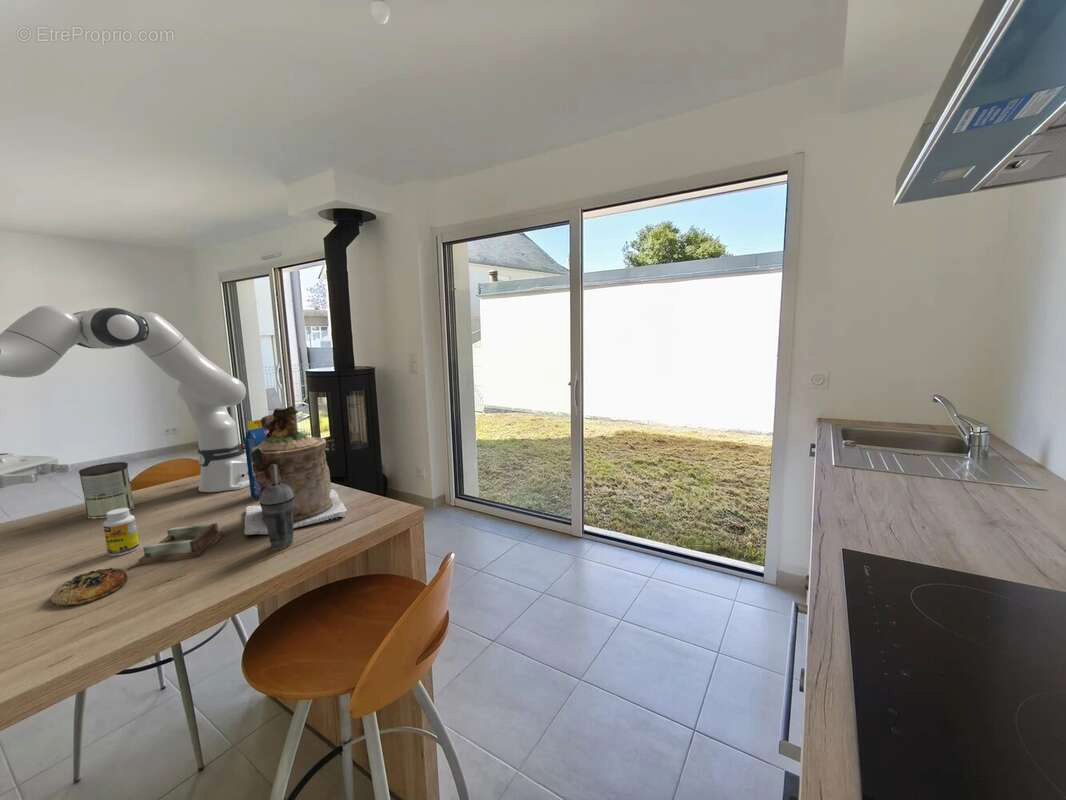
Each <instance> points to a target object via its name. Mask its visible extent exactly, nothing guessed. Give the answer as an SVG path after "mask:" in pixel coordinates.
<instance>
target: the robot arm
mask: <svg viewBox="0 0 1066 800" xmlns="http://www.w3.org/2000/svg"><path fill="white" fill-rule="evenodd" d="M75 345H76V346H80V347H83V348H88V349H103V350H104V349H105V350H107V349H108V350H109V349H115V348H124V347H129V346H131V345H133V346H135V347H137V348H138V349H140V350H141V351H142V353H143V354H144V355H146V356H147V357H148V358H149V359H150V360H151V361H152V362H153V363H154V364H155V365H156V366H157V367H159V369H161V370H162V371H163V373H165V374H166V375H167V376H169V377H170V378H172V379H174V380H176V381H178V382H179V384H178V387H177V394H178V397H179V398H180V399H181V400H182V401H183V402H184V403H185V405H186V407H187V409H188V412H189V413H190V416H191V418H192V420H193V423H194V425H195V430H196V436H197V437H196V438H197V444H198V449H197V455H198V456H197V458H198V463H199V466H200V479H199V485H198V489H197V490H198V491H199V492H203V493H217V492H218V493H219V492H225V491H236V490H237V491H238V490H240V489H244V488H247V487H250V483H249V475H248V467H247V458H246V450H245V443H243V444H242V443H240V442H239V439H238V432H237V431H238V430H237V423H236V421H235V420H234V418H232V416H231V415H230V414H229V412H228V409H227V408H230V407H234V406H237V405H239V404H241V403H242V402H243V401H244V399H245V398H246V394H247V388H246V386H245V384H244V383H243V382H242V380H240V379H239V378H237V377H235V376H233V375H230V374H229V373H227V372H226V371H225V370H224V369H222V368H221V367H220V366H218V365H217V364H215V363H214V362H213V361H211V360H210V359H209V358H207V357H206V356H204V355H203V354H202V353H201V352H200V351H199V350H198V349H197V348H196V347H195V346H194V345H193V344H192V343H191V342H190V341H189V340H188V339H187V338H186V337H185V336H184V335H183V333H181V331H179V330H178V329H177V328H176V327H175V326H174V325H173V324H171V323H170V322H169V321H168V320H166V319H165V318H164V317H162V315H160V314H157V313H156V312H152V311H144V312H138V313H134V312H131V311H128V310H126V309H124V308H118V307H99V308H91V309H88V310H83V311H77V312H74V313H71V312H69V311H68V310H65V309H63V308H61V307H57V306H53V305H41V306H40V305H39V306H37V307H35V308H34V309H32V310H30V311H28V312H27V313H25V314H23V315H22V316H20V317H19V318H18V319H17V320H15V321H14V322H12V323H11V324H10V325H9V326H8V327H7V328H6V329H4V330H3V331H2V332H1V333H0V376H3V377H10V378H19V379H22V378H32V377H33V378H34V377H37V376H41V375H43V374H45V373H47V372H48V371H49V370H50V369H52V368H53V367H54V366H55V365H56V364H57V363H58V362H59V361H60V360H61V359H62V357H63V356H64V355H65V354H67V352H68V351H69V350H70V349H71V348H72V347H74V346H75ZM70 471H71V465H70V464H67V463H59V459H58V458H57V457H54V456H41V455H15V454H14V453H12V452H9V453H8V452H6V453H0V489H3V488H6V487H10V486H15V485H21V484H32V483H35V482H38V481H39V478H41V477H43V476H44V477H45V476H46V475H47V476H48V475H50V474H54V473H56V474H65V473H68V472H70Z"/></svg>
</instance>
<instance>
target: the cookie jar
mask: <svg viewBox="0 0 1066 800" xmlns="http://www.w3.org/2000/svg"><path fill="white" fill-rule="evenodd" d="M297 413H299V410H297V409H296V408H295V407H294V406H293V405H289V406H287V407H286V408H281V407H280V408H279V407H277V408H274V410H273V413H272V414H269V415H265V416H263V417H261V419H260V420H261V423H262V426H263V428H264V429H267V430H269V432H268V433H267V435H266V437H267V438H266V439H265V440H264V441H263V442H262V443H260V444H259V445H258V446H257V447H254V448H253V449H251V455H250V457H251V461H252V462H253V471H254V472H255V473H256V474H255V479H256V482H257V483H258V484H259V485H260V486H261V488H260V496H259V499H258V500H259V502H260V497H261V494H262V492H263V491H264V489H265V488H266V487H268V486H269V485H271V484H274V483H275V473H274V465H275V464H276V468H277V481H278V483H283V484H286V485H287V486H289V487H290V488H291V490H292V491H293V495H294V505H293V529H297V528H300V527H304V526H308V525H313V524H317V523H320V522H321V523H322V522H326V520H327V521H330V520H329V519H331V520H334V519H333V518H336V519H339V518H338V517H342V516H345V517H346V512H347V507H345V504H344V503H343V502H342V501H341V499H340V498H339V494H338V492H337V491H336V490H335V489H334V488H333V489H332V483H331V482H332V481H331V475H330V473H331V472H330V468H329V466H328V462H327V460H326V459H327V456H326V455H327V454H326V451H325V448H326V446H327V441H326V439H325V438H323V437H314V436H308V435H306V434H305V433H303V432H301V431H298V430H297V426H296V419H295V416H296V414H297ZM244 511H245V516H244V518H243V519H244V531H243V533H244V536H245V537H246V536H249V535H268V531H267V526H266V522H265V517H264V513H263V511H262V508H261V505H260V504H259V505H249V506H246V507H245V508H244Z"/></svg>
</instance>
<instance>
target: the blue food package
mask: <svg viewBox="0 0 1066 800" xmlns="http://www.w3.org/2000/svg"><path fill="white" fill-rule="evenodd" d="M247 429H248V430H247V432H246V435H245V436H244V444H245V449H244V451H245V453H246V458H247V467H248V475H249V483H250V485H249V489H250V490H249V491H250V497H251V498H254V499H258V500H259V496H260V488H261V486H260V485H259V484H258V483H257V482H256V479H255V474H256V473H255V472H254V471H253V462H252V461H251V457H250V455H251V449H253V448H254V447H257V446H258V445H259V444H260V443H262V442H263V441H264V440H265V439H266V438H267V437H266V435H267V433H268V432H269V430H267V429H264V428H263V426H262V423H261V419H256V420H251V421H250V420H249V421H247Z"/></svg>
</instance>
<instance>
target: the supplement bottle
mask: <svg viewBox="0 0 1066 800" xmlns="http://www.w3.org/2000/svg"><path fill="white" fill-rule="evenodd" d="M106 516H107V518H106V520H105V521H104V522H103V523H102V526H103V531H104V538H105V544H106V551H107V554H108V555H109V556H113V557H117V556H116V555H119V556H123V555H122V554H124V555H126V553H127V554H130V553H132V551H133V552H135V551H136V550H137V549H139V547H140V541H139V534H138V529H137V527H138V526H137V522H136V521H137V520H136V516H135V515H133V514H131V511H129V508H120V509H115V510H112V511H109V512H107V513H106ZM134 550H135V551H134ZM129 552H130V553H129Z"/></svg>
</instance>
